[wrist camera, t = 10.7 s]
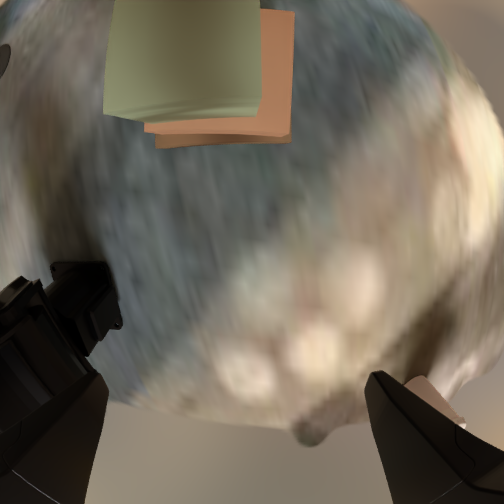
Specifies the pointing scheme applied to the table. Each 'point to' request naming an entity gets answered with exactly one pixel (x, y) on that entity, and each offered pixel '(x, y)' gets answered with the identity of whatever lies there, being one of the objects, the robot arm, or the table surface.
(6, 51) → the sundae
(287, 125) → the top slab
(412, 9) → the table surface
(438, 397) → the smoothie
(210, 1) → the cube
